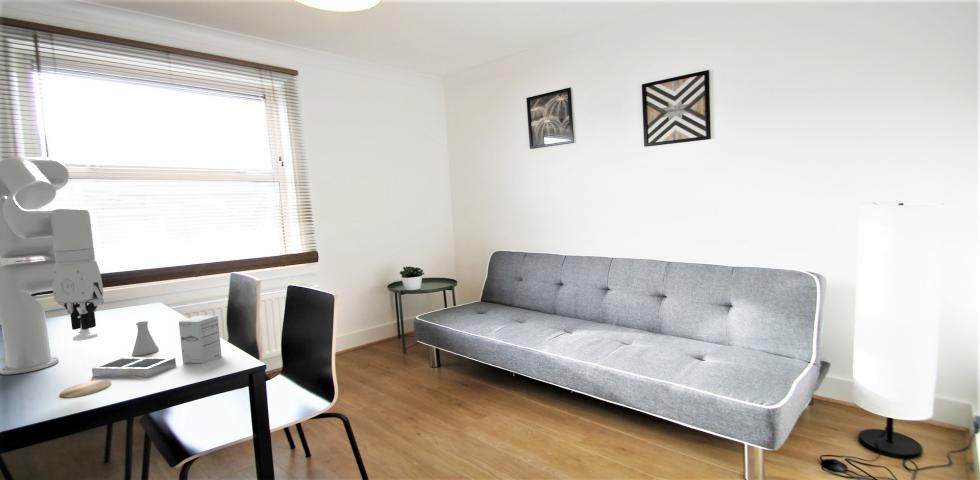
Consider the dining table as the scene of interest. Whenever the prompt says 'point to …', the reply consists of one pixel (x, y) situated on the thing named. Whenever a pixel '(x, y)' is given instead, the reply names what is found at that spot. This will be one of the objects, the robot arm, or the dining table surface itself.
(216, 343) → the supplement box
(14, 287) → the robot arm
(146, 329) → the flask
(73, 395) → the coaster
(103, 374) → the divided tray
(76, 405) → the dining table surface
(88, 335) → the chess piece
